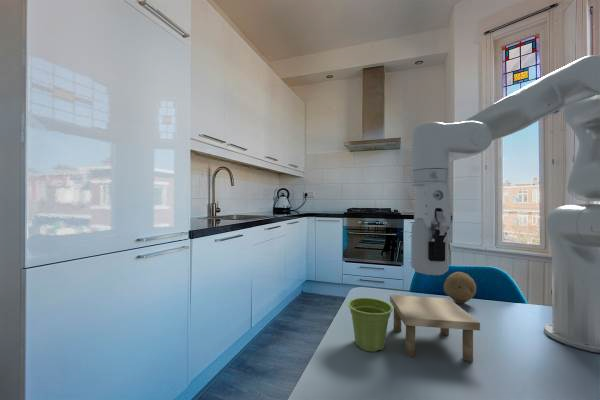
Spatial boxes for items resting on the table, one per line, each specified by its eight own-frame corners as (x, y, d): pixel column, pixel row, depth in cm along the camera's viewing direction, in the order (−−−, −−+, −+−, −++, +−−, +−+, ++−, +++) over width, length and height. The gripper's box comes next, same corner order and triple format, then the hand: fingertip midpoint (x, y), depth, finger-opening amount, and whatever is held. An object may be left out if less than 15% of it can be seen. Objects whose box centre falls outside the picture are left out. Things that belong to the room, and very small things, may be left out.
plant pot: (391, 361, 52) (392, 316, 52) (343, 351, 55) (344, 309, 56) (392, 339, 61) (393, 300, 61) (351, 331, 64) (351, 295, 64)
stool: (448, 331, 65) (448, 298, 66) (479, 364, 52) (479, 322, 52) (389, 327, 67) (390, 295, 67) (404, 358, 53) (405, 317, 53)
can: (453, 277, 55) (453, 219, 56) (415, 274, 57) (415, 218, 57) (441, 269, 63) (442, 218, 63) (408, 267, 64) (408, 217, 64)
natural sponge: (478, 311, 79) (479, 277, 79) (444, 305, 83) (444, 273, 83) (474, 301, 87) (474, 270, 87) (443, 297, 91) (443, 267, 91)
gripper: (466, 174, 51) (466, 266, 51) (432, 182, 68) (432, 251, 68) (426, 174, 52) (425, 264, 52) (402, 182, 69) (402, 250, 69)
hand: (429, 256), depth 60 cm, fingers closed on can, 7 cm apart
